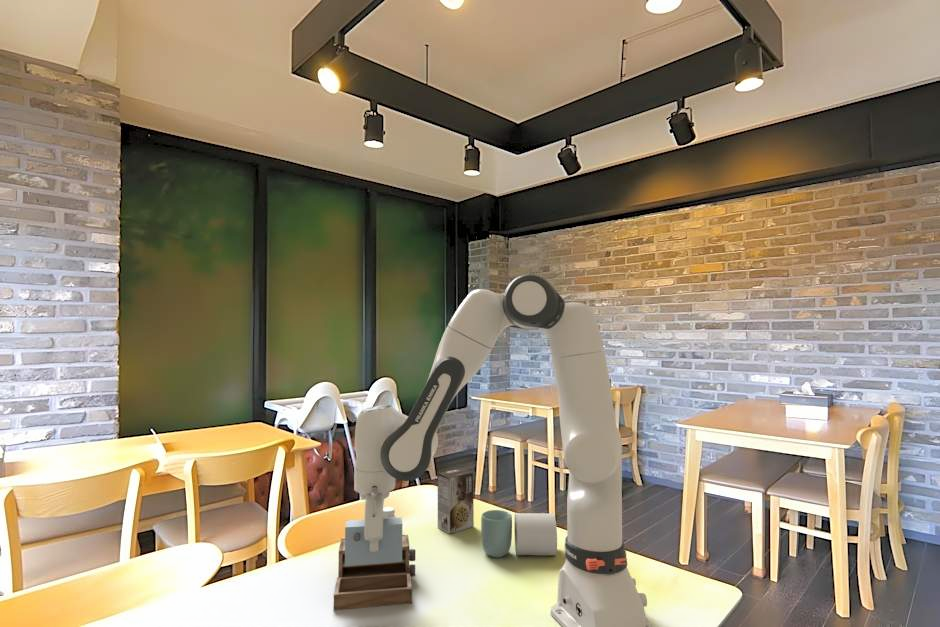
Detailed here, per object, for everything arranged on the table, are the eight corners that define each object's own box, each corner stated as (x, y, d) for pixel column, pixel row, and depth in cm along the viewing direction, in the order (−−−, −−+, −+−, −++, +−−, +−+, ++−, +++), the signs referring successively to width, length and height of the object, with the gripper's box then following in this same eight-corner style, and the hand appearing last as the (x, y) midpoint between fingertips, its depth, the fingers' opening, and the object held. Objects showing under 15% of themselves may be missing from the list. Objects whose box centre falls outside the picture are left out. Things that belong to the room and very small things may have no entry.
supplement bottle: (378, 543, 138) (378, 512, 139) (377, 537, 143) (378, 506, 143) (396, 542, 139) (396, 511, 140) (395, 535, 144) (395, 505, 144)
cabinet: (418, 602, 108) (418, 566, 108) (333, 609, 105) (334, 572, 105) (413, 565, 125) (413, 534, 126) (340, 570, 122) (341, 538, 123)
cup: (500, 563, 126) (500, 522, 127) (475, 555, 131) (475, 515, 132) (517, 553, 133) (517, 514, 133) (492, 545, 137) (492, 507, 138)
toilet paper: (551, 545, 137) (551, 508, 138) (557, 562, 127) (557, 521, 128) (514, 545, 138) (514, 507, 138) (517, 561, 128) (517, 521, 128)
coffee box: (460, 520, 156) (460, 467, 156) (474, 526, 151) (474, 471, 151) (436, 527, 150) (436, 472, 151) (449, 534, 145) (450, 477, 146)
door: (402, 563, 108) (402, 525, 109) (344, 568, 106) (344, 529, 107) (401, 553, 113) (401, 517, 114) (346, 557, 111) (346, 520, 112)
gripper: (390, 494, 101) (389, 565, 101) (389, 467, 122) (388, 526, 121) (357, 495, 100) (356, 567, 100) (362, 469, 120) (361, 528, 120)
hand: (374, 545), depth 110 cm, fingers closed on door, 4 cm apart
